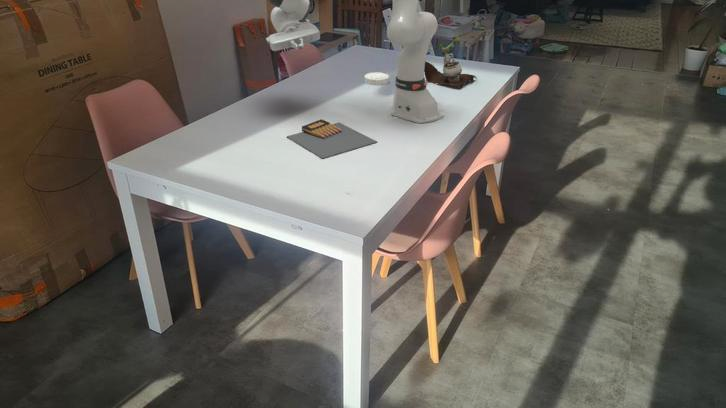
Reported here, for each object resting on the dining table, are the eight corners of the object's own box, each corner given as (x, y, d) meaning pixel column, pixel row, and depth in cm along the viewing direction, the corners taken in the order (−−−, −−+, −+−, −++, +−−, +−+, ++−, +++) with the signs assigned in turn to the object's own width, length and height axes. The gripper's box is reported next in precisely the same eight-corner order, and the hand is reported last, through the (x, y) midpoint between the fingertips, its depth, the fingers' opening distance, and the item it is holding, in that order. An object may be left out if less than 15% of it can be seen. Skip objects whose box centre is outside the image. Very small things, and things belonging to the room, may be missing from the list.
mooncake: (388, 78, 263) (388, 71, 261) (389, 85, 253) (389, 78, 251) (364, 78, 263) (364, 71, 261) (364, 85, 253) (364, 78, 251)
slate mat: (377, 142, 193) (377, 141, 192) (322, 159, 180) (322, 158, 180) (339, 123, 209) (339, 122, 209) (286, 137, 196) (286, 136, 196)
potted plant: (461, 95, 248) (449, 43, 236) (427, 97, 260) (414, 48, 248) (479, 78, 260) (469, 28, 249) (445, 81, 272) (434, 33, 260)
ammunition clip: (301, 131, 200) (324, 140, 193) (301, 126, 199) (324, 136, 192) (321, 123, 207) (343, 132, 200) (321, 119, 206) (344, 127, 199)
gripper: (263, 30, 208) (273, 46, 199) (312, 18, 213) (323, 33, 204) (266, 44, 213) (276, 61, 204) (313, 32, 217) (325, 48, 209)
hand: (300, 47), depth 204 cm, fingers closed
